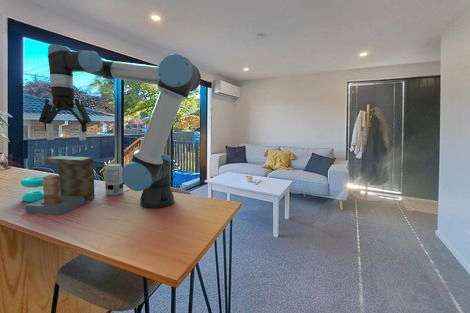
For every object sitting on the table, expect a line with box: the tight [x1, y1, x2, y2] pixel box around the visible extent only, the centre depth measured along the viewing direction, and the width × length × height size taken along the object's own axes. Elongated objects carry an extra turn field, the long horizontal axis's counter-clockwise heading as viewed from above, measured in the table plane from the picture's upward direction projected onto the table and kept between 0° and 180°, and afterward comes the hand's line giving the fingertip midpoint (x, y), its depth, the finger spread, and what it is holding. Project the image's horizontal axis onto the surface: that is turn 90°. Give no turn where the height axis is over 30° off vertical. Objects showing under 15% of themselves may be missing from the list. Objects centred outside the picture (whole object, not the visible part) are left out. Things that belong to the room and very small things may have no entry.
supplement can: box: [104, 163, 124, 196], centre depth 123 cm, size 8×8×15 cm
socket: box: [25, 196, 85, 216], centre depth 101 cm, size 14×14×3 cm
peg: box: [41, 174, 61, 205], centre depth 98 cm, size 4×4×14 cm
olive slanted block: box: [45, 155, 96, 201], centre depth 110 cm, size 16×8×20 cm, turn 86°
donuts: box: [20, 176, 44, 203], centre depth 110 cm, size 10×10×10 cm
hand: (66, 140), depth 99 cm, fingers open, 13 cm apart
